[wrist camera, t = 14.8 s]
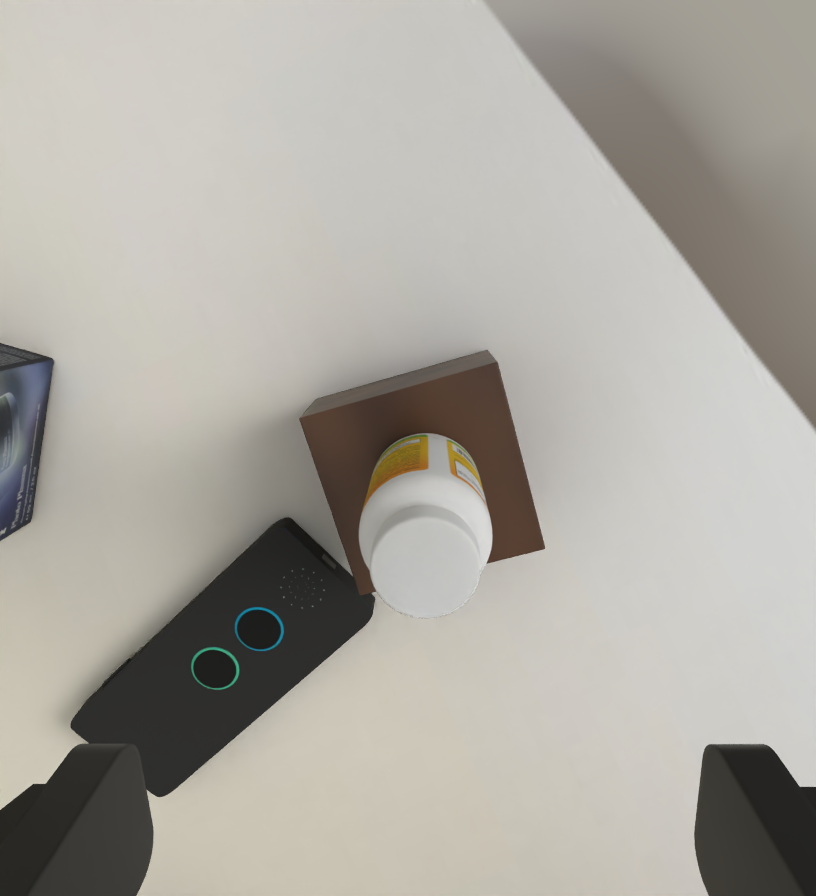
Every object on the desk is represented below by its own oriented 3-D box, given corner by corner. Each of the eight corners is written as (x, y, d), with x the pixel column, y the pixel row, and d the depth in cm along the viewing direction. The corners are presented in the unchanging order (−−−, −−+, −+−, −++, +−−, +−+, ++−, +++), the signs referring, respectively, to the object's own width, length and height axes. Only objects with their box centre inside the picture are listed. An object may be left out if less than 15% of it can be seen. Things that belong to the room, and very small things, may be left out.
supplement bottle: (362, 520, 33) (335, 620, 23) (384, 420, 31) (365, 483, 22) (464, 543, 33) (480, 651, 23) (491, 444, 31) (518, 517, 22)
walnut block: (487, 349, 35) (497, 361, 30) (530, 513, 38) (545, 549, 33) (316, 398, 36) (298, 418, 31) (368, 555, 39) (359, 595, 34)
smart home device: (379, 617, 38) (162, 804, 42) (381, 602, 39) (172, 783, 43) (277, 521, 36) (62, 724, 40) (283, 510, 38) (76, 706, 42)
